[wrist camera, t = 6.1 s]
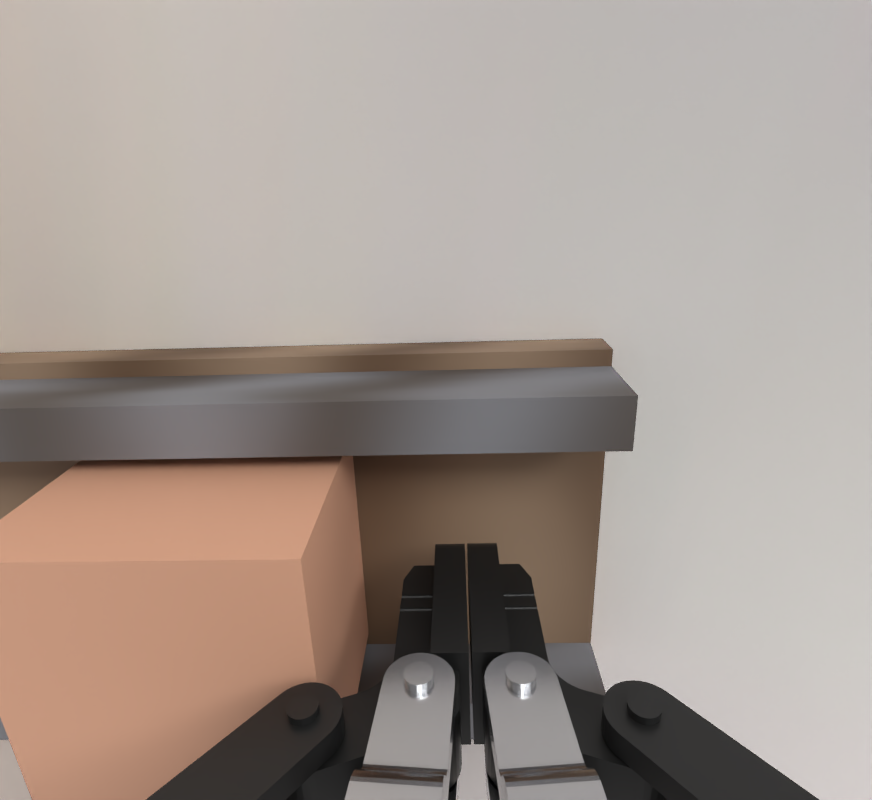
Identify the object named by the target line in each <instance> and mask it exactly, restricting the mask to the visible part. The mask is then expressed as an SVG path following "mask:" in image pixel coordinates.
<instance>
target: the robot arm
mask: <svg viewBox="0 0 872 800" xmlns="http://www.w3.org/2000/svg"><path fill="white" fill-rule="evenodd" d="M467 561H468V603H469V632H470V656H471V681H472V705H473V730H474V744H484V747H485V766H486V790H487V797H488V800H819V799H817V798H816V797H815V796H813V795H812V794H810V793H809V792H807V791H806V790H805V789H803V788H802V787H800V786H799V785H798V784H796V783H795V782H793V781H792V780H790V779H789V778H788V777H786V776H785V775H783V774H782V773H781V772H779V771H778V770H776V769H775V768H774V767H772V766H771V765H769V764H768V763H766V762H765V761H764V760H762V759H761V758H759V757H758V756H757V755H755V754H754V753H752V752H751V751H750V750H748V749H747V748H745V747H744V746H742V745H741V744H740V743H738V742H737V741H735V740H734V739H733V738H731V737H730V736H728V735H727V734H725V733H724V732H723V731H721V730H720V729H718V728H717V727H716V726H714V725H713V724H711V723H710V722H709V721H707V720H706V719H704V718H703V717H701V716H700V715H699V714H697V713H696V712H694V711H693V710H692V709H690V708H689V707H687V706H686V705H684V704H683V703H682V702H680V701H679V700H677V699H676V698H675V697H673V696H672V695H670V694H669V693H668V692H666V691H664V690H663V689H661V688H659V687H657V686H655V685H653V684H650V683H647V682H642V681H624V682H620V683H618V684H615V685H614V686H612V687H611V688H610V689H609V690H608V691H607V692H606V694H605V696H604V695H601V694H597V693H593V692H589V691H585V690H582V689H579V688H577V687H575V686H572V685H571V684H569V683H567V682H566V681H564V680H563V679H562V678H560V677H559V676H558V675H557V674H556V673H555V671H554V669H553V668H552V666H551V665H550V663H549V660H548V657H547V652H546V647H545V642H544V637H543V633H542V628H541V623H540V618H539V613H538V610H537V603H536V599H535V595H534V589H533V584H532V579H531V577H530V575H529V574H528V573H527V572H526V571H525V570H524V568H523V567H522V566H521V565H520V564H499V556H498V549H497V543H467ZM461 744H471V727H470V685H469V647H468V620H467V593H466V566H465V544H435V561H434V565H424V566H413V568H412V569H411V570H410V572H409V573H408V574H407V576H406V577H405V578H404V581H403V589H402V598H401V605H400V613H399V621H398V629H397V637H396V645H395V654H394V661H393V663H392V664H391V665H390V666H389V668H388V669H387V671H386V672H385V674H384V677H383V680H382V681H380V682H379V683H378V684H377V685H375V686H374V687H372V688H370V689H368V690H366V691H363V692H360V693H357V694H353V695H350V696H347V697H343V698H340V696H339V694H338V693H337V691H335V690H334V689H333V688H332V687H330V686H328V685H326V684H323V683H317V682H309V683H303V684H298V685H296V686H293V687H291V688H289V689H287V690H285V691H284V692H282V693H281V694H280V695H278V696H277V697H276V698H275V699H273V700H272V701H271V702H269V703H268V704H267V705H266V706H264V707H263V708H262V709H261V710H259V711H258V712H257V713H255V714H254V715H253V716H252V717H250V718H249V719H248V720H247V721H245V722H244V723H243V724H241V725H240V726H239V727H238V728H236V729H235V730H234V731H233V732H231V733H230V734H229V735H227V736H226V737H225V738H224V739H222V740H221V741H220V742H219V743H217V744H216V745H215V746H213V747H212V748H211V749H210V750H208V751H207V752H206V753H204V754H203V755H202V756H201V757H199V758H198V759H197V760H196V761H194V762H193V763H192V764H190V765H189V766H188V767H187V768H185V769H184V770H183V771H182V772H180V773H179V774H178V775H176V776H175V777H174V778H173V779H171V780H170V781H169V782H168V783H166V784H165V785H164V786H162V787H161V788H160V789H159V790H157V791H156V792H155V793H154V794H152V795H151V796H150V797H148V798H147V799H146V800H458V790H459V775H460V771H461V764H462V762H461Z"/></svg>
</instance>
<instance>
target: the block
mask: <svg viewBox="0 0 872 800" xmlns="http://www.w3.org/2000/svg"><path fill="white" fill-rule="evenodd" d="M368 634H369V631H368V620H367V608H366V597H365V586H364V575H363V564H362V552H361V541H360V530H359V519H358V507H357V496H356V485H355V474H354V462H353V456H311V457H253V458H196V459H138V460H81V461H79V462H78V463H77V464H75V465H74V466H72V467H71V468H70V469H68V470H67V471H66V472H64V473H63V474H62V475H60V476H59V477H58V478H56V479H55V480H53V481H52V482H51V483H49V484H48V485H47V486H45V487H44V488H43V489H41V490H40V491H38V492H37V493H36V494H34V495H33V496H32V497H30V498H29V499H28V500H26V501H25V502H24V503H22V504H21V505H19V506H18V507H17V508H15V509H14V510H13V511H11V512H10V513H9V514H7V515H6V516H4V517H3V518H2V519H0V718H1V720H2V723H3V725H4V728H5V731H6V733H7V736H8V738H9V741H10V744H11V746H12V749H13V751H14V754H15V756H16V759H17V762H18V764H19V767H20V769H21V772H22V775H23V777H24V780H25V782H26V785H27V787H28V790H29V793H30V795H31V798H32V800H146V799H147V798H148V797H150V796H151V795H152V794H154V793H155V792H156V791H157V790H159V789H160V788H161V787H162V786H164V785H165V784H166V783H168V782H169V781H170V780H171V779H173V778H174V777H175V776H176V775H178V774H179V773H180V772H182V771H183V770H184V769H185V768H187V767H188V766H189V765H190V764H192V763H193V762H194V761H196V760H197V759H198V758H199V757H201V756H202V755H203V754H204V753H206V752H207V751H208V750H210V749H211V748H212V747H213V746H215V745H216V744H217V743H219V742H220V741H221V740H222V739H224V738H225V737H226V736H227V735H229V734H230V733H231V732H233V731H234V730H235V729H236V728H238V727H239V726H240V725H241V724H243V723H244V722H245V721H247V720H248V719H249V718H250V717H252V716H253V715H254V714H255V713H257V712H258V711H259V710H261V709H262V708H263V707H264V706H266V705H267V704H268V703H269V702H271V701H272V700H273V699H275V698H276V697H277V696H278V695H280V694H281V693H282V692H284V691H285V690H287V689H289V688H291V687H293V686H296V685H298V684H303V683H309V682H317V683H323V684H326V685H328V686H330V687H332V688H333V689H334V690H335V691H337V693H338V694H339V696H340V698H343V697H347V696H350V695H353V694H357V693H358V687H359V682H360V677H361V671H362V666H363V661H364V655H365V650H366V644H367V639H368Z"/></svg>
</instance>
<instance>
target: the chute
mask: <svg viewBox="0 0 872 800" xmlns="http://www.w3.org/2000/svg"><path fill="white" fill-rule="evenodd" d="M612 353H613V349H612V348H611V347H610V346H609V345H608V344H607V343H606V342H605V341H604V340H603V339H565V340H523V341H481V342H440V343H398V344H357V345H315V346H273V347H232V348H190V349H149V350H107V351H65V352H24V353H0V519H2V518H3V517H4V516H6V515H7V514H9V513H10V512H11V511H13V510H14V509H15V508H17V507H18V506H19V505H21V504H22V503H24V502H25V501H26V500H28V499H29V498H30V497H32V496H33V495H34V494H36V493H37V492H38V491H40V490H41V489H43V488H44V487H45V486H47V485H48V484H49V483H51V482H52V481H53V480H55V479H56V478H58V477H59V476H60V475H62V474H63V473H64V472H66V471H67V470H68V469H70V468H71V467H72V466H74V465H75V464H77V463H78V462H79V461H81V460H138V459H196V458H253V457H311V456H353V462H354V474H355V485H356V496H357V507H358V519H359V530H360V541H361V552H362V564H363V575H364V586H365V597H366V608H367V620H368V631H369V634H368V639H367V644H366V650H365V655H364V661H363V666H362V671H361V677H360V682H359V687H358V693H360V692H363V691H366V690H368V689H370V688H372V687H374V686H375V685H377V684H378V683H379V682H380V681H382V680H383V677H384V674H385V672H386V671H387V669H388V668H389V666H390V665H391V664H392V663H393V661H394V654H395V645H396V637H397V629H398V621H399V613H400V605H401V598H402V589H403V581H404V578H405V577H406V576H407V574H408V573H409V572H410V570H411V569H412V568H413V566H424V565H434V561H435V544H465V566H466V593H467V620H468V647H469V685H470V727H471V739H474V730H473V705H472V681H471V656H470V632H469V603H468V561H467V543H497V549H498V556H499V564H520V565H521V566H522V567H523V568H524V570H525V571H526V572H527V573H528V574H529V575H530V577H531V579H532V584H533V589H534V595H535V599H536V603H537V610H538V613H539V618H540V623H541V628H542V633H543V637H544V642H545V647H546V652H547V657H548V660H549V663H550V665H551V666H552V668H553V669H554V671H555V673H556V674H557V675H558V676H559V677H560V678H562V679H563V680H564V681H566V682H567V683H569V684H571V685H572V686H575V687H577V688H579V689H582V690H585V691H589V692H593V693H597V694H601V695H604V696H605V694H606V692H605V689H604V686H603V683H602V679H601V676H600V673H599V669H598V666H597V663H596V660H595V656H594V653H593V650H592V647H591V643H590V641H591V628H592V615H593V602H594V589H595V576H596V563H597V550H598V536H599V523H600V510H601V497H602V484H603V471H604V458H605V451H633V442H634V431H635V421H636V410H637V400H638V395H637V394H636V393H635V392H634V391H633V390H632V389H631V387H630V386H629V385H628V384H627V383H626V382H625V381H624V380H623V378H622V377H621V376H620V375H619V374H618V373H617V372H616V371H615V370H614V368H613V367H612ZM0 740H9V738H8V736H7V733H6V731H5V728H4V725H3V723H2V720H1V718H0Z"/></svg>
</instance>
